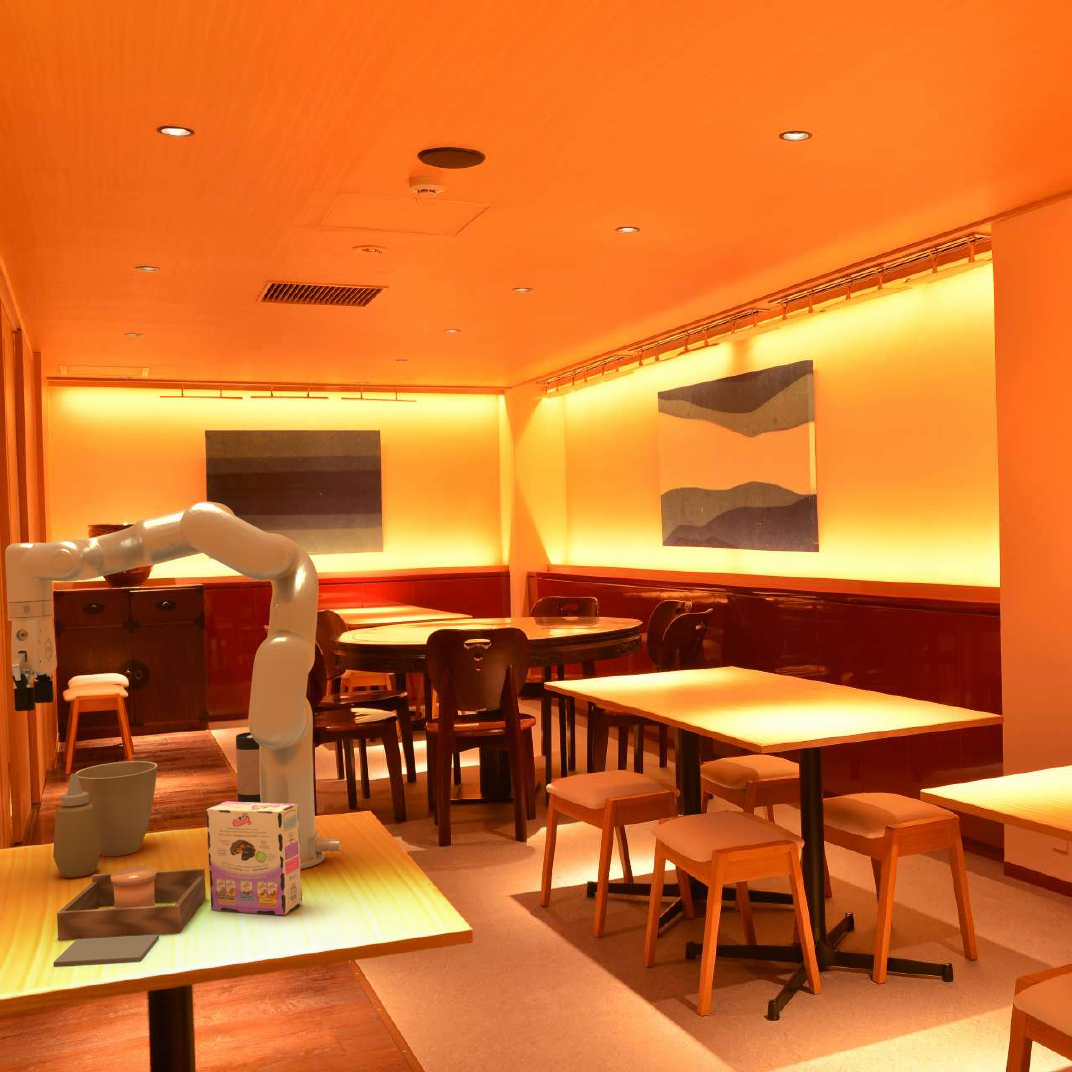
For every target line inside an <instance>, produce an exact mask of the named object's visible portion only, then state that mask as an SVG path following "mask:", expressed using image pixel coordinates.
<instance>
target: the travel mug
mask: <svg viewBox="0 0 1072 1072" xmlns="http://www.w3.org/2000/svg"><path fill="white" fill-rule="evenodd" d="M259 746H260V745H259V744H258V743H257V742H256V741H255V740H254V739H253V737H252V735H251V733H250V731H249V732H241V733H238V734H236V736H235V749H236V750H235V752H236V753H235V757H236V758H235V759H236V785H237V789H236V790H237V802H254V803H261V799H260V770H259Z"/></svg>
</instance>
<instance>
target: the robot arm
mask: <svg viewBox="0 0 1072 1072" xmlns="http://www.w3.org/2000/svg"><path fill="white" fill-rule="evenodd" d="M199 554H204V555H206V556H207V557H209V558H211V559H213V560H214V561H217V563H218V562H219V563H220V564H222V565H224V566H226V567H228V568H229V569H231V570H233V571H235V572H236V573H239V574H241V575H243V576H244V577H246V578H248V579H251V580H254V581H258V582H270V583H271V587H272V589H271V590H272V592H271V593H272V594H271V595H272V596H271V601H270V607H269V623H268V631H267V635H266V638H265V640H263V641H262V643H261V644H260V645H259V647H258V648H257V650H256V654H255V655H254V656H255V657H254V661H253V668H252V677H251V687H250V695H249V696H250V697H249V708H248V718H247V719H248V720H247V721H248V722H247V723H248V730H249V732H250V733H251V735H252V737H253V739H254V740H255V741H256V742H257V743H258V744H259V745H260V746H259V770H260V799H261V803H283V804H298V822H299V843H300V867H301V870H302V869H307V868H311V867H314V866H316V865H318V864H321V863H322V862H323V861H325V858H326V852H327V851H328V852H339V851H340V850H341V840H340V839H336V838H334V837H333V838H322V837H320V831H316V818H315V817H316V816H315V815H316V814H315V792H314V791H315V789H314V788H315V787H314V763H313V762H314V761H313V759H314V758H313V756H314V755H313V733H314V732H313V729H314V723H313V721H314V718H313V717H314V716H313V710H312V709H313V708H312V706H311V703H310V701H309V700H308V698H307V689H308V680H309V679H308V678H309V673H310V672H311V670H312V668H313V667H314V664H315V659H316V653H315V652H316V636H317V635H316V634H317V625H318V607H319V593H320V592H319V589H320V587H319V586H320V585H319V584H320V583H319V577H318V573H317V568H316V566H315V563H314V562H313V559H312V558H311V556H310V555H309V554H308V553H307V551H306V550H305V549H304V548H303V547H302V546H301V545H299V544H298V543H296V542H295V541H294V540H292V539H291V538H289V537H287V536H285V535H283V534H282V535H281V534H279V533H274V532H272V533H271V532H266V531H264V530H262V529H261V528H258V527H257V526H254V525H253V524H251V523H249V522H247V521H245V520H244V519H241V518H240V517H238V516H236V515H235V513H234V512H233V510H232V509H231V508H230V507H228V506H227V505H226V504H223V503H219V502H213V501H199V502H196V503H194V504H192V505H190V506H189V507H188V508H185V509H181V510H180V509H179V510H177V511H171V512H168V513H164V514H159V515H155V516H149V517H146V518H143V519H142V518H141V519H140V520H138V521H137V522H135V523H134V524H133V525H132V526H129V527H128V528H124V529H120V530H118V531H114V532H111V533H107V534H102V535H97V536H93V537H88V538H85V539H62V540H57V541H51V542H41V541H40V542H18V543H17V542H16V543H11V544H9V545H8V546H7V547H6V549H5V556H4V557H5V558H4V559H5V578H6V579H5V580H6V582H5V583H6V602H7V603H6V604H7V607H6V608H7V621H8V622H11V637H10V638H11V639H10V641H11V642H10V645H11V646H10V647H11V648H10V655H11V656H10V658H11V660H10V661H11V670H12V674H13V675H12V680H13V684H12V685H13V693H14V694H13V695H14V696H13V698H14V710H15V711H16V712H27V711H29V712H30V711H35V709H36V704H47V703H52V702H54V681H53V678H54V673H53V672H54V671H55V670H56V669H57V667H58V662H57V661H58V659H57V649H56V648H57V647H56V638H55V630H54V625H53V619H54V618H55V617H54V616H55V614H54V590H53V587H54V586H53V582H62V583H63V582H64V583H69V582H71V583H72V582H80V581H87V580H94V579H97V578H100V577H105V576H108V575H112V574H117V573H121V572H125V571H128V570H129V571H130V570H132V569H133V570H134V569H137V568H141V567H151V566H155V565H158V564H163V563H166V562H167V563H168V562H171V561H175V560H178V559H183V558H186V557H191V556H194V555H199ZM34 679H35V681H34Z"/></svg>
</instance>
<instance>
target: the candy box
mask: <svg viewBox="0 0 1072 1072" xmlns="http://www.w3.org/2000/svg"><path fill="white" fill-rule="evenodd" d="M205 812H206V830H207V847H208V848H207V852H208V855H207V856H208V870H209V886H210V887H209V889H210V911H215V912H231V913H242V914H243V913H245V914H246V913H247V914H258V915H259V914H262V915H273V916H277V915H278V916H279V915H280V916H285V915H287V914H289V913H291V912H292V911H293V910H295V909H297V908H299V907H301V906H302V905H303V891H302V874H301V873H302V872H301V870H302V869H301V867H300V843H299V822H298V804H283V803H254V802H238V801H227V800H226V801H223V802H221V803H219V804H215V805H214V806H211V807H209V808H207V809H206V810H205Z"/></svg>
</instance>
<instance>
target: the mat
mask: <svg viewBox="0 0 1072 1072" xmlns="http://www.w3.org/2000/svg"><path fill="white" fill-rule="evenodd" d="M159 938H160V934H152V935H134V936H116V937H99V938H81V939H74V940H75V941H73V942H72V943H71V944H70V945H69V946H68V947H67V948H66V949H65V950H64V951H63V952H62V953H61V954H60V955H59V956H58V957H57V958H56V959H54V961H53V967H65V966H67V967H69V966H80V965H81V966H83V965H86V966H87V965H99V964H101V965H102V964H118V963H120V964H121V963H137V962H141V961H142V960H143V959H144V957H145V956H146V955H147V954H148V953H149V952H150V951H151V949H152V948H153V947H154V946H155V944H156V943H157V942H158V941H159Z"/></svg>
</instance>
